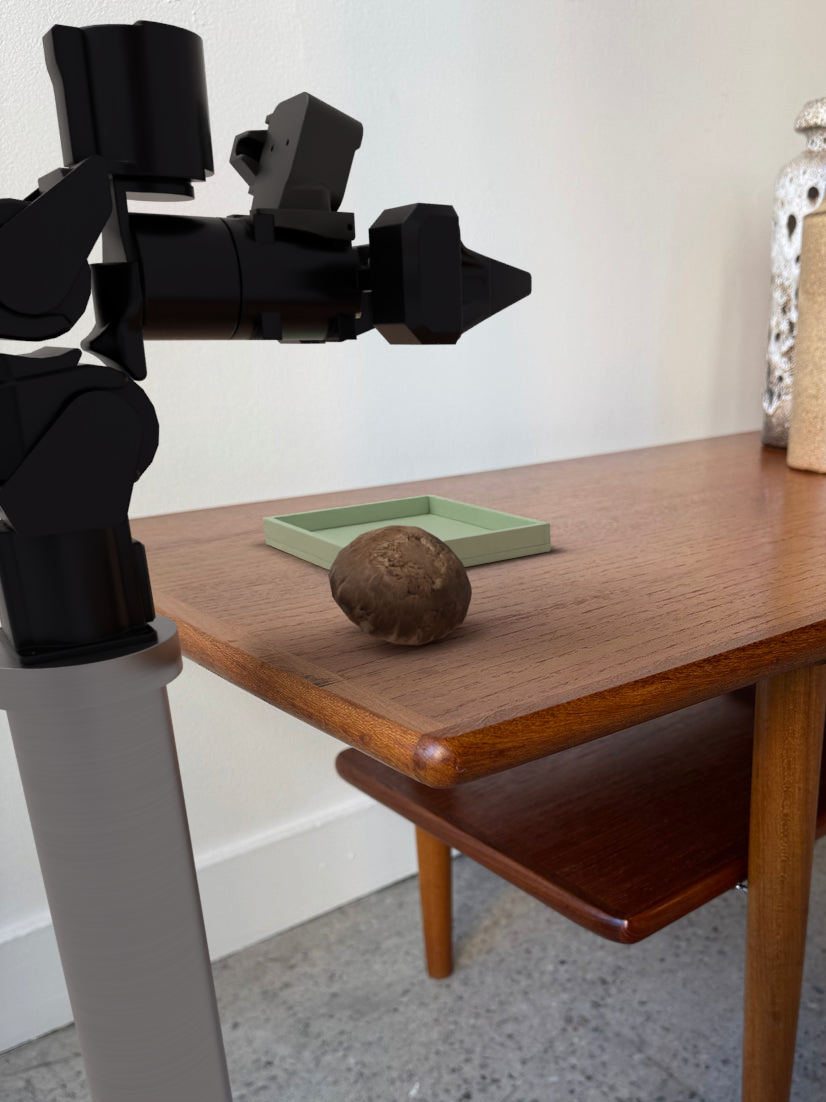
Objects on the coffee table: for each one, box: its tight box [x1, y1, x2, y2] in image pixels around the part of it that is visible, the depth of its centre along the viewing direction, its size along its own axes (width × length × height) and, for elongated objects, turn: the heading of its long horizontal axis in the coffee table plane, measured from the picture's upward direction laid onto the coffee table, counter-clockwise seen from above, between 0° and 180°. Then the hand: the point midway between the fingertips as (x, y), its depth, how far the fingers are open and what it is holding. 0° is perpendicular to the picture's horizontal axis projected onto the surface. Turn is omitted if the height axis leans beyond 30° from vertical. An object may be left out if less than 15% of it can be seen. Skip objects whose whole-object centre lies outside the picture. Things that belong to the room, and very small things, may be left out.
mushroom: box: [327, 525, 473, 647], centre depth 58 cm, size 8×8×6 cm
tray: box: [262, 493, 552, 571], centre depth 79 cm, size 15×17×2 cm
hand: (484, 287), depth 60 cm, fingers open, 9 cm apart
